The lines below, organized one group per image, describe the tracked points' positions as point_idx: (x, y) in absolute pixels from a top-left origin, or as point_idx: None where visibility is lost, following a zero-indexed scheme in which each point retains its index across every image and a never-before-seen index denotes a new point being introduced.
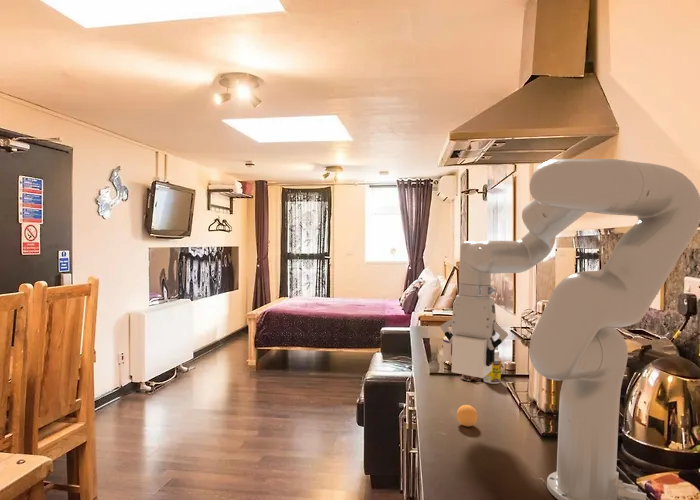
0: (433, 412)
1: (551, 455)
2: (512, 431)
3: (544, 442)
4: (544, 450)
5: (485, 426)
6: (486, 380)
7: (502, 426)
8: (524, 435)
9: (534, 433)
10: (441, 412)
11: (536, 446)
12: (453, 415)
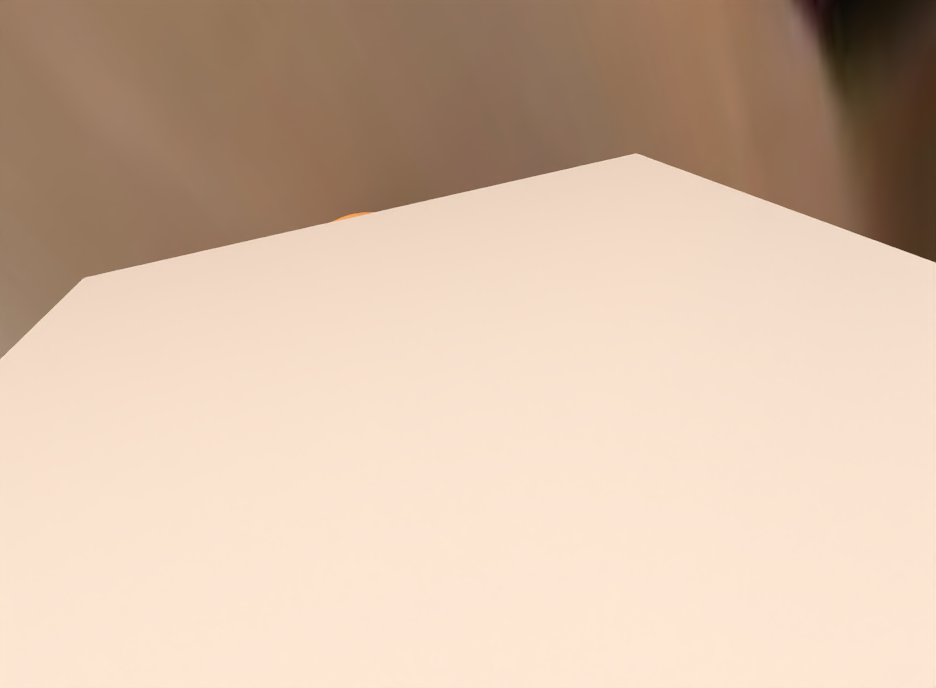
0: (26, 258)
1: (904, 247)
2: (646, 100)
3: (854, 104)
4: (866, 217)
5: (469, 174)
6: None
7: (561, 70)
8: (729, 100)
9: (777, 4)
10: (66, 204)
11: (821, 202)
12: (177, 179)
